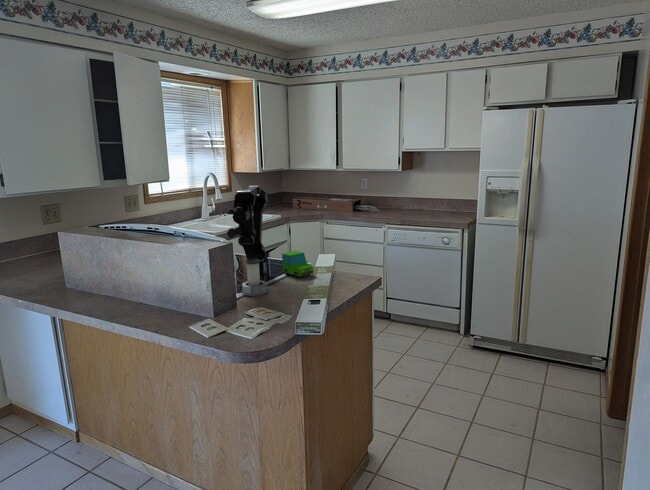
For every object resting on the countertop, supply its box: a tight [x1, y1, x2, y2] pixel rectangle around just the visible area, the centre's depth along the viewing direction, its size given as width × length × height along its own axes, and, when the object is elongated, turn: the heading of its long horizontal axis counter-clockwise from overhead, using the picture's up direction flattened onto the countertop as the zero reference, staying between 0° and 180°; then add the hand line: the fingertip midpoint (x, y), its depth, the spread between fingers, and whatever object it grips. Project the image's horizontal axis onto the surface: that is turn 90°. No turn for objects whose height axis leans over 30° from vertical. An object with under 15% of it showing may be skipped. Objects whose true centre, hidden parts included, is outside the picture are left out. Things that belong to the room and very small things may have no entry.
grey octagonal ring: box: [240, 279, 269, 297], centre depth 186 cm, size 11×11×4 cm
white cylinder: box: [245, 259, 261, 286], centre depth 185 cm, size 5×5×13 cm
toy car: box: [281, 250, 314, 279], centre depth 208 cm, size 10×13×10 cm
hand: (248, 255), depth 194 cm, fingers open, 9 cm apart
